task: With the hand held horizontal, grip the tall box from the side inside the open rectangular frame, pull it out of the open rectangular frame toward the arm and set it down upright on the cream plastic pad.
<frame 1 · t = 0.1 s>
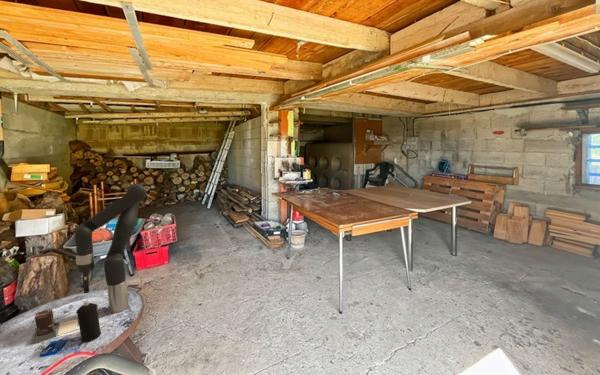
hand: (86, 288, 146), 17 cm above the table, tool pointing down, fingers open, 8 cm apart
open rectangular frame: (47, 333, 137), on the table
aerosol can: (91, 336, 136), on the table
pad: (68, 327, 141), on the table
box: (47, 333, 137), on the table
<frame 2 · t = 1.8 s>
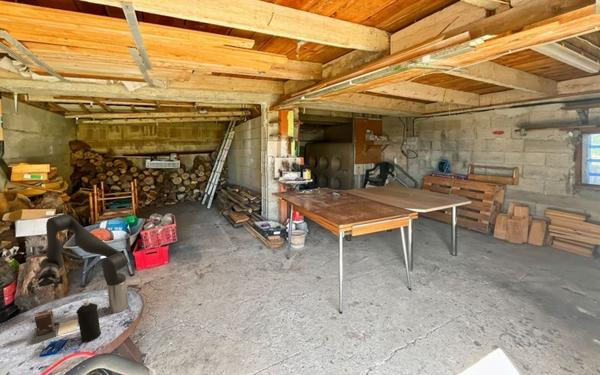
hand: (44, 289, 141), 19 cm above the table, tool horizontal, fingers open, 8 cm apart
nothing on the table moved.
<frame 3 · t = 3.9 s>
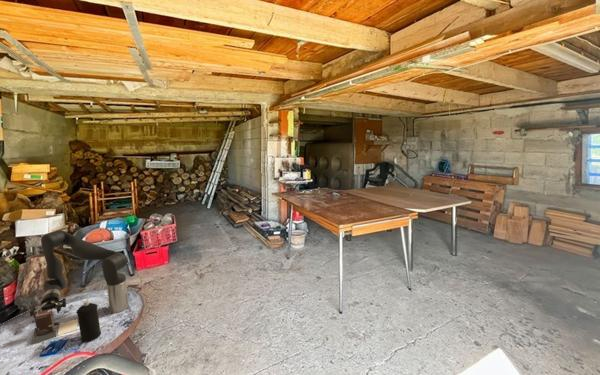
hand: (46, 314, 140), 7 cm above the table, tool horizontal, fingers open, 8 cm apart
nothing on the table moved.
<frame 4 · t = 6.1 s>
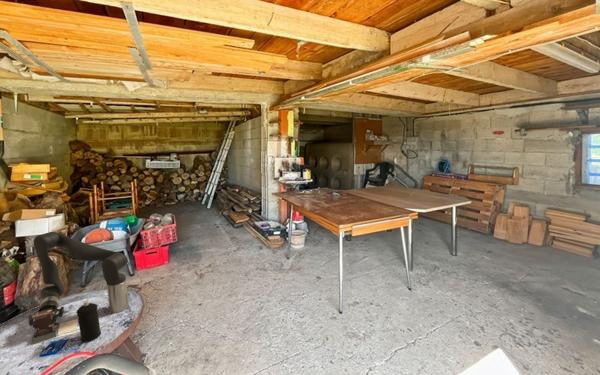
hand: (44, 324, 133), 7 cm above the table, tool horizontal, fingers closed on box, 6 cm apart
box: (47, 333, 137), on the table, touching gripper
everything else where it was.
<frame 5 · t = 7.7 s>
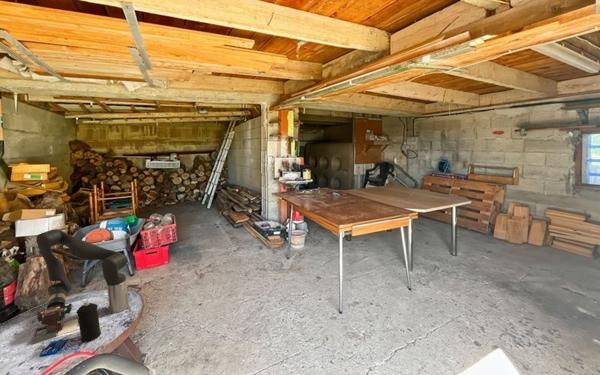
hand: (53, 320, 135), 8 cm above the table, tool horizontal, fingers closed on box, 6 cm apart
box: (55, 330, 138), on the table, touching gripper
everything else where it was.
when the fingers open (7 cm above the table, at t = 9.5 s): box stays where it is, resting on pad.
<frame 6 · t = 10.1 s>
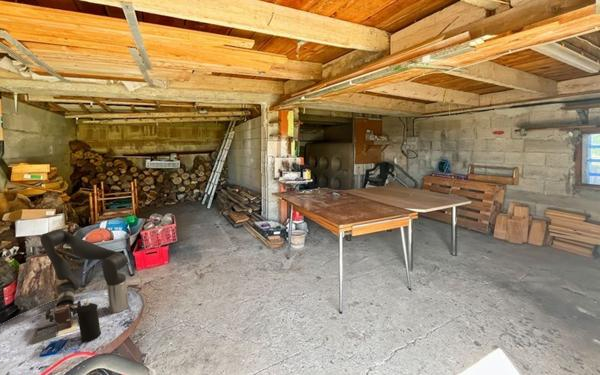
hand: (62, 317, 138), 7 cm above the table, tool horizontal, fingers open, 8 cm apart
box: (65, 327, 141), resting on pad
everything else where it was.
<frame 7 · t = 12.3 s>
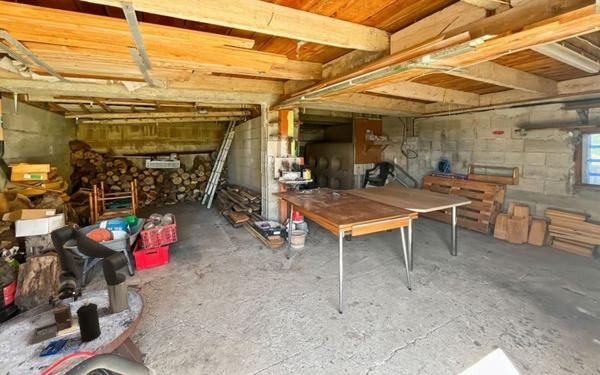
hand: (64, 302, 148), 8 cm above the table, tool horizontal, fingers open, 8 cm apart
nothing on the table moved.
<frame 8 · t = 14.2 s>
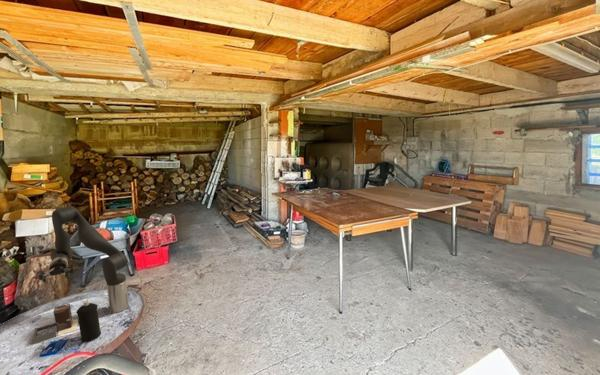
hand: (55, 278, 143), 24 cm above the table, tool horizontal, fingers open, 8 cm apart
nothing on the table moved.
at the end: box inside the target area (0.4 cm from its centre), resting on pad; box tilted 0°; the gripper is holding nothing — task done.
